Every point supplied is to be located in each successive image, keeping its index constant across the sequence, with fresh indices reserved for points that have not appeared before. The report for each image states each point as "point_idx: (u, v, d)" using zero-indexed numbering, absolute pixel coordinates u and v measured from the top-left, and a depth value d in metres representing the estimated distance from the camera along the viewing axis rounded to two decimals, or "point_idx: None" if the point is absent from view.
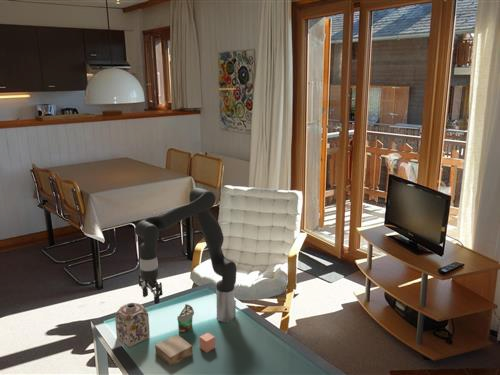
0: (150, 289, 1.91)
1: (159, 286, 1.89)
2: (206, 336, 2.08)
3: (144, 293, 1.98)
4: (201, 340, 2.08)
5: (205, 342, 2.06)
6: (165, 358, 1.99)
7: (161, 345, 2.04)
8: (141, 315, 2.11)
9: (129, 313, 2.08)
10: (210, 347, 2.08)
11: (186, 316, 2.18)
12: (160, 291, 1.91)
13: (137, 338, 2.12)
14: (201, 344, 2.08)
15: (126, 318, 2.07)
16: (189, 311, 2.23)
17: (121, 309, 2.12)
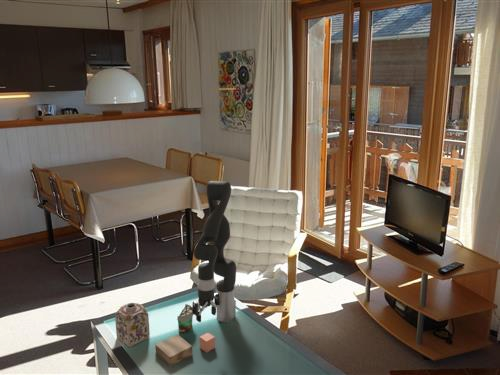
0: (212, 304, 2.04)
1: None
2: (206, 336, 2.08)
3: None
4: (201, 340, 2.08)
5: (205, 342, 2.06)
6: (165, 357, 1.99)
7: (161, 345, 2.04)
8: (141, 315, 2.11)
9: (129, 313, 2.08)
10: (210, 347, 2.08)
11: (186, 316, 2.18)
12: (215, 300, 2.08)
13: (137, 338, 2.12)
14: (201, 344, 2.08)
15: (126, 318, 2.07)
16: (189, 311, 2.23)
17: (121, 309, 2.12)
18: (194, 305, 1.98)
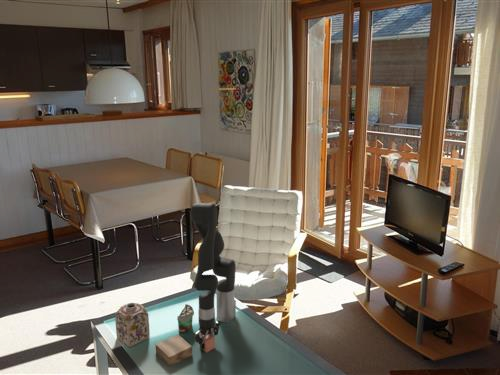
0: (212, 332, 2.08)
1: None
2: None
3: None
4: None
5: (205, 342, 2.06)
6: (164, 357, 2.00)
7: (161, 345, 2.04)
8: (141, 315, 2.11)
9: (129, 313, 2.08)
10: (210, 347, 2.08)
11: (186, 316, 2.18)
12: (214, 329, 2.12)
13: (137, 338, 2.12)
14: None
15: (126, 318, 2.07)
16: (189, 311, 2.23)
17: (121, 309, 2.12)
18: (196, 336, 2.03)
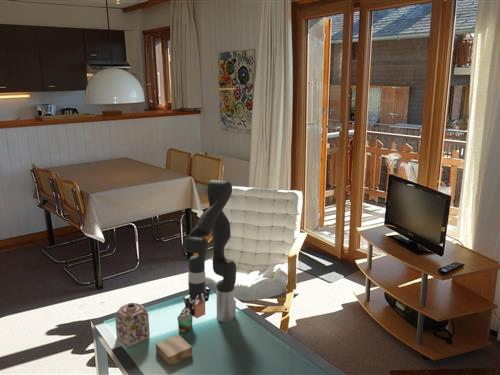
0: (202, 298, 2.01)
1: None
2: (196, 302, 2.01)
3: None
4: None
5: (195, 307, 1.99)
6: (164, 357, 2.00)
7: (161, 344, 2.04)
8: (141, 315, 2.11)
9: (129, 313, 2.08)
10: (200, 312, 2.01)
11: (186, 316, 2.18)
12: (205, 295, 2.05)
13: (137, 338, 2.12)
14: None
15: (126, 318, 2.07)
16: (189, 311, 2.23)
17: (121, 309, 2.12)
18: (185, 300, 1.96)
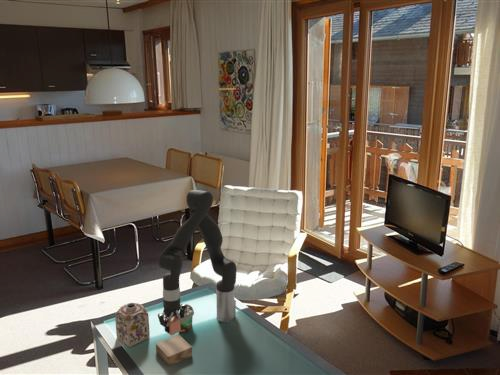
0: (177, 315, 2.00)
1: None
2: (171, 319, 2.00)
3: None
4: None
5: (170, 325, 1.98)
6: (164, 357, 2.00)
7: (161, 344, 2.04)
8: (141, 315, 2.11)
9: (129, 313, 2.08)
10: (175, 330, 1.99)
11: (186, 316, 2.18)
12: (180, 312, 2.04)
13: (137, 338, 2.12)
14: None
15: (126, 318, 2.07)
16: (189, 311, 2.23)
17: (121, 309, 2.12)
18: (159, 318, 1.95)
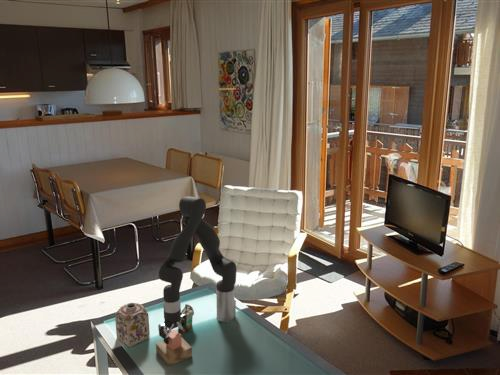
0: (179, 326, 2.02)
1: None
2: (172, 334, 2.02)
3: None
4: None
5: (171, 339, 2.00)
6: (163, 357, 2.00)
7: (161, 344, 2.04)
8: (141, 315, 2.11)
9: (129, 313, 2.08)
10: (176, 344, 2.02)
11: None
12: (182, 321, 2.06)
13: (137, 338, 2.12)
14: None
15: (126, 318, 2.07)
16: (189, 311, 2.23)
17: (121, 309, 2.12)
18: (160, 328, 1.96)
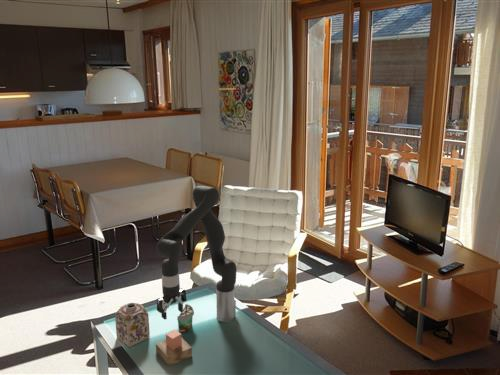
0: (178, 300, 1.98)
1: None
2: (172, 334, 2.02)
3: None
4: (167, 337, 2.02)
5: (171, 339, 2.00)
6: (163, 357, 2.00)
7: (161, 344, 2.04)
8: (141, 315, 2.11)
9: (129, 313, 2.08)
10: (176, 344, 2.02)
11: (186, 316, 2.18)
12: (182, 296, 2.02)
13: (137, 338, 2.12)
14: (167, 342, 2.02)
15: (126, 318, 2.07)
16: (189, 311, 2.23)
17: (121, 309, 2.12)
18: (158, 302, 1.92)
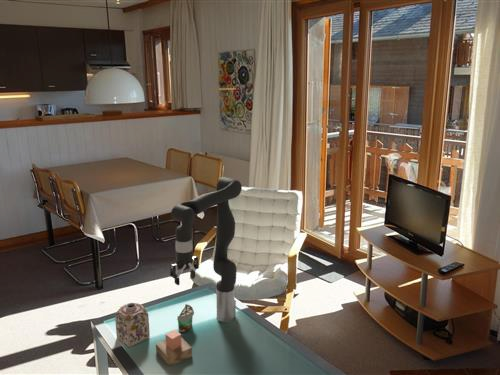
0: (191, 267, 2.02)
1: None
2: (172, 334, 2.02)
3: None
4: (167, 338, 2.02)
5: (171, 340, 2.00)
6: (163, 357, 2.00)
7: (161, 344, 2.04)
8: (141, 315, 2.11)
9: (129, 313, 2.08)
10: (176, 344, 2.02)
11: (186, 316, 2.18)
12: (194, 264, 2.06)
13: (137, 338, 2.12)
14: (167, 342, 2.02)
15: (126, 318, 2.07)
16: (189, 311, 2.23)
17: (121, 309, 2.12)
18: (172, 267, 1.96)
